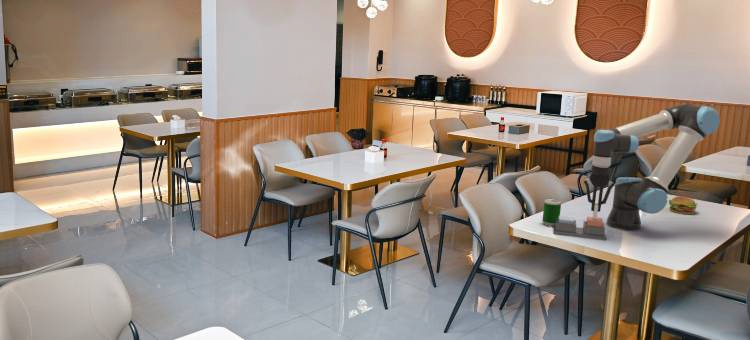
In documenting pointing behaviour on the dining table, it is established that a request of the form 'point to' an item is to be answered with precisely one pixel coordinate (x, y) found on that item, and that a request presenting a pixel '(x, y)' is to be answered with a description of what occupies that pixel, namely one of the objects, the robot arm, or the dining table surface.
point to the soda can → (551, 211)
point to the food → (682, 205)
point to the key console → (579, 230)
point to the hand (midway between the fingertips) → (594, 218)
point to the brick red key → (594, 222)
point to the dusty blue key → (566, 220)
